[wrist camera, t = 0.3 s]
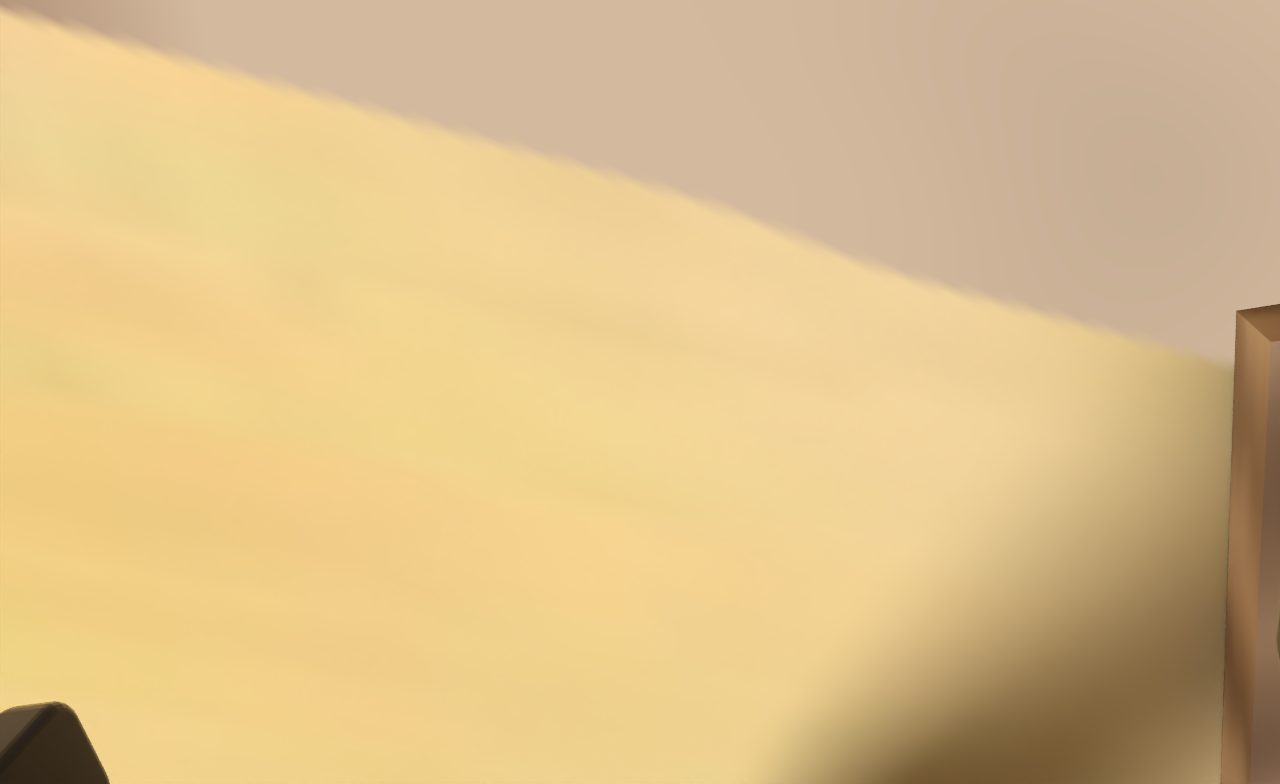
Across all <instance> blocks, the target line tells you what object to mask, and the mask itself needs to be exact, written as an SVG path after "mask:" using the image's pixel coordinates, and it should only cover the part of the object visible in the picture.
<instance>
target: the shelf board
mask: <svg viewBox="0 0 1280 784" xmlns="http://www.w3.org/2000/svg"><path fill="white" fill-rule="evenodd" d="M1236 313H1237V314H1236V341H1235V371H1234V401H1233V431H1232V461H1231V491H1230V521H1229V552H1228V582H1227V612H1226V642H1225V672H1224V702H1223V732H1222V763H1221V784H1280V661H1279V658H1278V653H1277V647H1276V629H1277V621H1278V613H1279V605H1280V304H1277V305H1271V306H1265V307H1259V308H1252V309H1246V310H1239V311H1237V312H1236Z"/></svg>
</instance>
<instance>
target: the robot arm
mask: <svg viewBox="0 0 1280 784" xmlns="http://www.w3.org/2000/svg"><path fill="white" fill-rule="evenodd" d="M1276 647H1277V653H1278V658H1279V661H1280V605H1279V613H1278V621H1277V629H1276ZM0 784H110V783H109V779H108V776H107V774H106V772H105V770H104V768H103V766H102V764H101V762H100V760H99V758H98V756H97V754H96V752H95V750H94V748H93V746H92V744H91V742H90V740H89V738H88V736H87V734H86V732H85V730H84V728H83V726H82V724H81V722H80V720H79V718H78V716H77V715H76V713H75V712H74V710H73V709H72V708H70V707H69V706H68V705H66V704H65V703H61V702H47V703H39V704H31V705H23V706H17V707H12V708H10V709H7V710H5V711H3V712H2V713H0Z"/></svg>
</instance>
